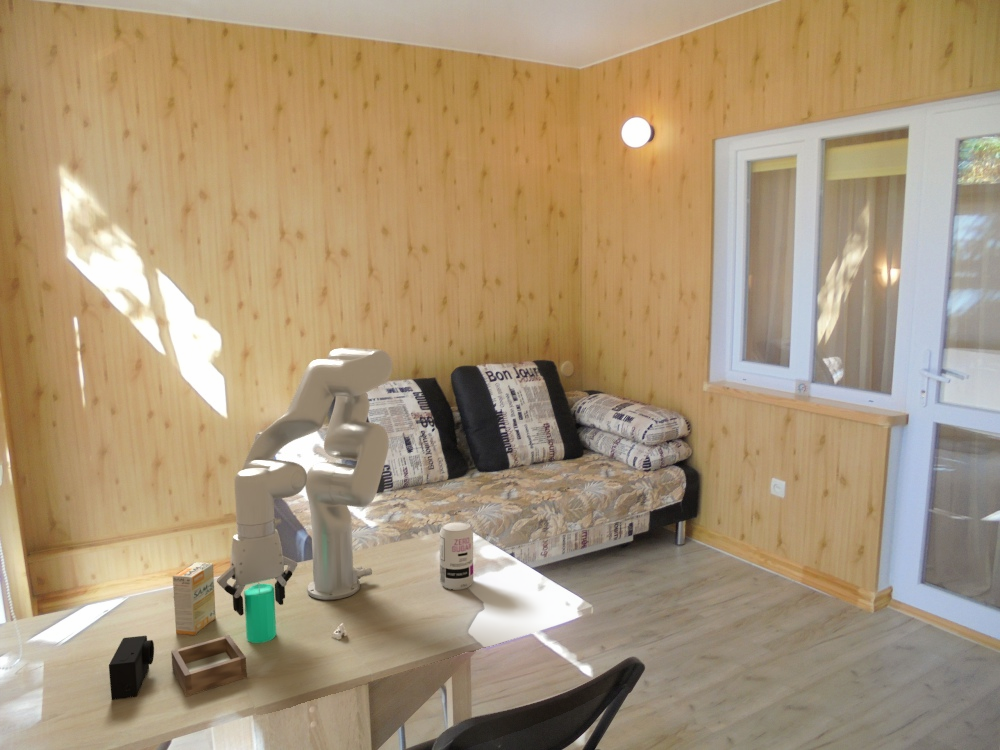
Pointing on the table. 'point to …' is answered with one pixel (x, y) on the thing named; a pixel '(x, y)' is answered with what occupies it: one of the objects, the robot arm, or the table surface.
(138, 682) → the digital camera
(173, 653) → the open wooden box
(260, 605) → the candle
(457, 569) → the supplement can
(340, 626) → the white irregular piece
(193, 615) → the supplement box
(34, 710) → the table surface
